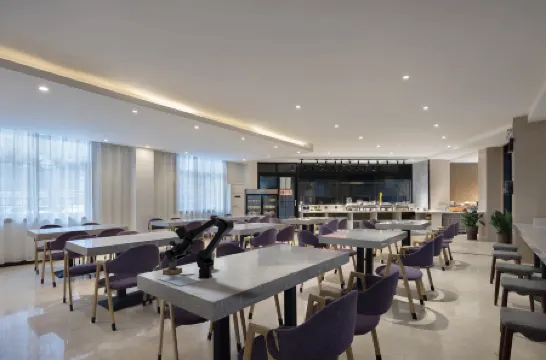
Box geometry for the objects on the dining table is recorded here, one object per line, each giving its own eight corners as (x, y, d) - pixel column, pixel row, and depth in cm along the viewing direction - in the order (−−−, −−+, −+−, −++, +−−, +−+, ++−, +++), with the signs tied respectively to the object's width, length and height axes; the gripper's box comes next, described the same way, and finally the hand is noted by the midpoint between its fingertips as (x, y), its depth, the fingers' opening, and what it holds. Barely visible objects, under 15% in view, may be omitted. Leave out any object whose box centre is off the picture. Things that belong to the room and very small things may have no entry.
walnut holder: (181, 271, 200) (182, 267, 200) (175, 274, 192) (175, 270, 192) (169, 270, 201) (170, 267, 202) (162, 273, 193) (163, 269, 193)
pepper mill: (177, 271, 198) (178, 251, 199) (174, 273, 194) (174, 253, 195) (171, 271, 199) (171, 251, 200) (167, 273, 195) (168, 252, 196)
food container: (211, 271, 201) (211, 255, 202) (202, 270, 202) (202, 255, 203) (218, 267, 213) (218, 252, 214) (209, 266, 214) (209, 252, 215)
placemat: (200, 281, 174) (200, 281, 174) (180, 286, 165) (180, 285, 165) (176, 275, 190) (177, 274, 190) (157, 278, 181) (157, 278, 181)
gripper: (188, 234, 205) (175, 250, 209) (167, 236, 188) (153, 254, 192) (197, 246, 201) (184, 262, 205) (176, 250, 184) (162, 268, 188)
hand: (171, 261), depth 198 cm, fingers closed on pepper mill, 4 cm apart
